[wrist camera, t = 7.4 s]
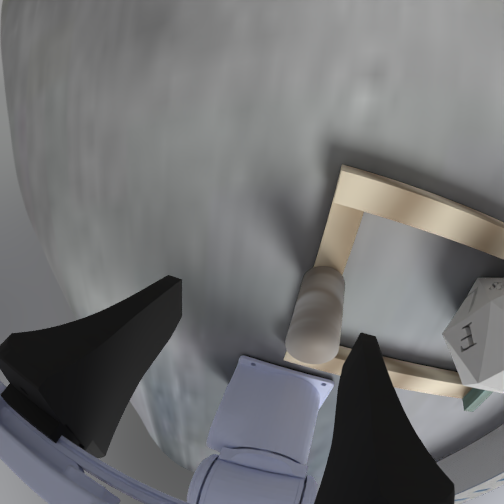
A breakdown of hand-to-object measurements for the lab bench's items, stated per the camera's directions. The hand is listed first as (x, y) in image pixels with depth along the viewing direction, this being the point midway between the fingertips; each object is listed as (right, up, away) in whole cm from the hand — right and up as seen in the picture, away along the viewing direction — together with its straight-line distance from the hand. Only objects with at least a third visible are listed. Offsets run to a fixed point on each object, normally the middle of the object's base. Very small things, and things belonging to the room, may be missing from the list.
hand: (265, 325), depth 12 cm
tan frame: (+13, -1, +9) cm, 16 cm away
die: (+18, -1, +7) cm, 20 cm away
